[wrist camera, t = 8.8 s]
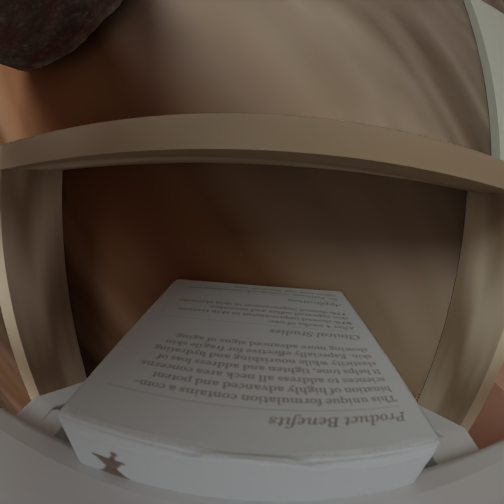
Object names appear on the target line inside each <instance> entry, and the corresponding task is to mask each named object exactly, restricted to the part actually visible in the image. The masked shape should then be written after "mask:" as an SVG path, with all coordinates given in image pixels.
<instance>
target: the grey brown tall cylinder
mask: <svg viewBox="0 0 504 504" xmlns="http://www.w3.org/2000/svg"><path fill="white" fill-rule="evenodd" d="M121 2H122V0H0V64H2V65H6V66H9V67H12V68H15V69H18V70H21V71H27V72H28V71H31V70H34V69H37V68H41V67H44V66H46V65H48V64H50V63H52V62H53V61H56V60H58V59H60V58H62V57H63V56H65V55H67V54H69V53H71V52H72V51H74V50H76V49H77V47H78V46H79V45H80V44H82V43H83V42H84V41H86V39H87V37H88V36H89V35H90V34H91V33H92V32H94V31H95V30H96V29H97V27H98V26H99V25H100V24H101V23H102V21H103V20H104V19H105V18H106V17H107V16H109V15H110V14H111V13H113V12H114V11H115V10H116V9H117V8H118V7H119V5H120V4H121Z"/></svg>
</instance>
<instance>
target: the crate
mask: <svg viewBox="0 0 504 504" xmlns="http://www.w3.org/2000/svg"><path fill="white" fill-rule="evenodd" d="M159 163H237V164H263V165H281V166H296V167H309V168H320V169H331V170H340V171H349V172H358V173H366V174H373V175H381V176H388V177H394V178H401V179H407V180H413V181H419V182H424V183H430V184H435V185H440V186H446V187H450V188H455V189H460V190H465V191H467V199H466V212H465V223H464V231H463V239H462V246H461V253H460V259H459V265H458V271H457V276H456V281H455V286H454V290H453V295H452V299H451V303H450V307H449V311H448V315H447V319H446V322H445V326H444V329H443V333H442V336H441V339H440V343H439V346H438V349H437V352H436V355H435V358H434V361H433V364H432V366H431V369H430V372H429V375H428V377H427V380H426V382H425V385H424V387H423V390H422V392H421V395H420V397H419V399H418V402H417V403H418V404H419V405H420V406H422V407H424V408H426V409H428V410H430V411H432V412H434V413H436V414H438V415H440V416H442V417H444V418H446V419H448V420H450V421H452V422H454V423H456V424H458V425H460V426H462V427H464V428H465V429H466V430H467V432H468V431H469V430H470V428H471V426H472V425H473V423H474V421H475V419H476V418H477V416H478V414H479V412H480V410H481V408H482V407H483V405H484V403H485V401H486V399H487V397H488V395H489V393H490V391H491V389H492V387H493V385H494V383H495V380H496V378H497V376H498V374H499V371H500V369H501V367H502V364H503V362H504V160H501V159H498V158H496V157H493V156H490V155H487V154H484V153H481V152H478V151H475V150H472V149H469V148H466V147H462V146H459V145H456V144H452V143H449V142H445V141H441V140H438V139H434V138H430V137H426V136H422V135H418V134H413V133H409V132H404V131H399V130H395V129H389V128H384V127H379V126H373V125H367V124H361V123H355V122H348V121H340V120H333V119H324V118H315V117H304V116H292V115H277V114H256V113H198V114H176V115H161V116H149V117H139V118H130V119H122V120H114V121H107V122H100V123H94V124H88V125H82V126H77V127H72V128H67V129H62V130H57V131H52V132H48V133H44V134H40V135H36V136H32V137H28V138H24V139H20V140H17V141H13V142H10V143H7V144H3V145H0V305H1V310H2V314H3V318H4V322H5V326H6V330H7V333H8V337H9V340H10V344H11V347H12V350H13V353H14V356H15V359H16V362H17V365H18V368H19V371H20V373H21V376H22V379H23V381H24V384H25V386H26V389H27V391H28V394H29V396H30V398H31V400H32V399H33V398H35V397H38V396H41V395H45V394H48V393H51V392H54V391H57V390H60V389H63V388H66V387H69V386H72V385H75V384H78V383H81V382H84V381H85V380H86V379H87V377H86V373H85V369H84V365H83V362H82V358H81V354H80V349H79V345H78V341H77V336H76V331H75V326H74V321H73V315H72V310H71V304H70V297H69V291H68V283H67V275H66V266H65V255H64V243H63V224H62V172H63V170H70V169H79V168H90V167H102V166H116V165H134V164H159Z"/></svg>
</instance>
